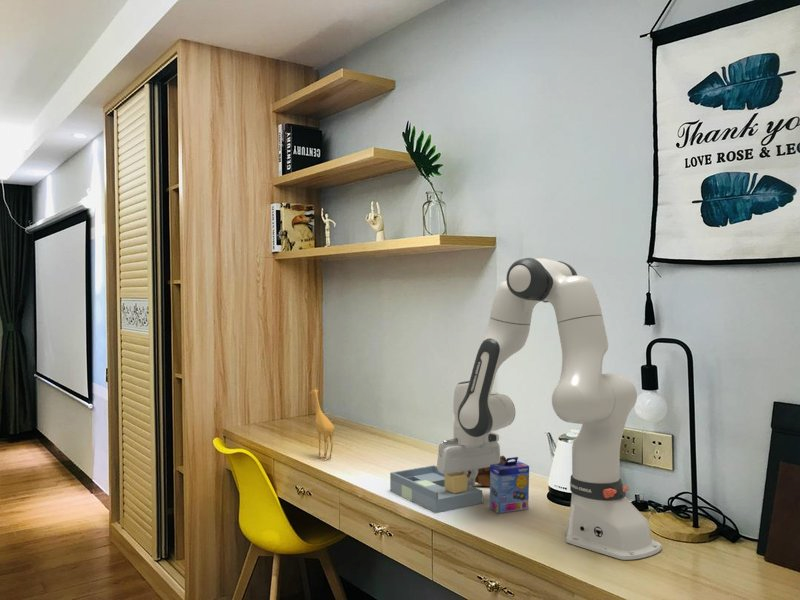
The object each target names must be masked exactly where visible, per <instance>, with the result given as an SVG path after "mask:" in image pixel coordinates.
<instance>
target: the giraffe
mask: <svg viewBox="0 0 800 600" xmlns="http://www.w3.org/2000/svg"><path fill="white" fill-rule="evenodd" d="M318 392H319V389H318V387H316V388H315V387H314V388H313V389H312V390H310V391H309V394H311V395H313V396H314V402H315V427H316V431H317V434H318V457H320V458H321V434H322V437H323V442H324V455H323V458H324V456H325V458H324V459H326V460H327V457H328V449H329V440H330V453H329V457H328V459H329V458H330V459H332V452H333V447H334V442H333V438H334V433H335V429H336V428H335V426H334V424H333V423H332V421H331V420H330V419H329V418H328V417H327V416H326V415H325V414H324V413H323V411H322V409H321V407H320V401H319V395H318ZM328 438H329V439H328ZM324 459H323V460H324Z"/></svg>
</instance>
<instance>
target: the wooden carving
mask: <svg viewBox="0 0 800 600" xmlns="http://www.w3.org/2000/svg"><path fill="white" fill-rule="evenodd" d="M506 459H507V457H506V456H504V455H500V462H499V463H505V462H506ZM466 475H467V477H468V478H469V477H470V475H471V471H470V470H469V471H468V474H466ZM476 483H477V484H479V485H480V486H484V487H490V467H486V468H480V469H478V474H477V476H476V478H475V484H476Z"/></svg>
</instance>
